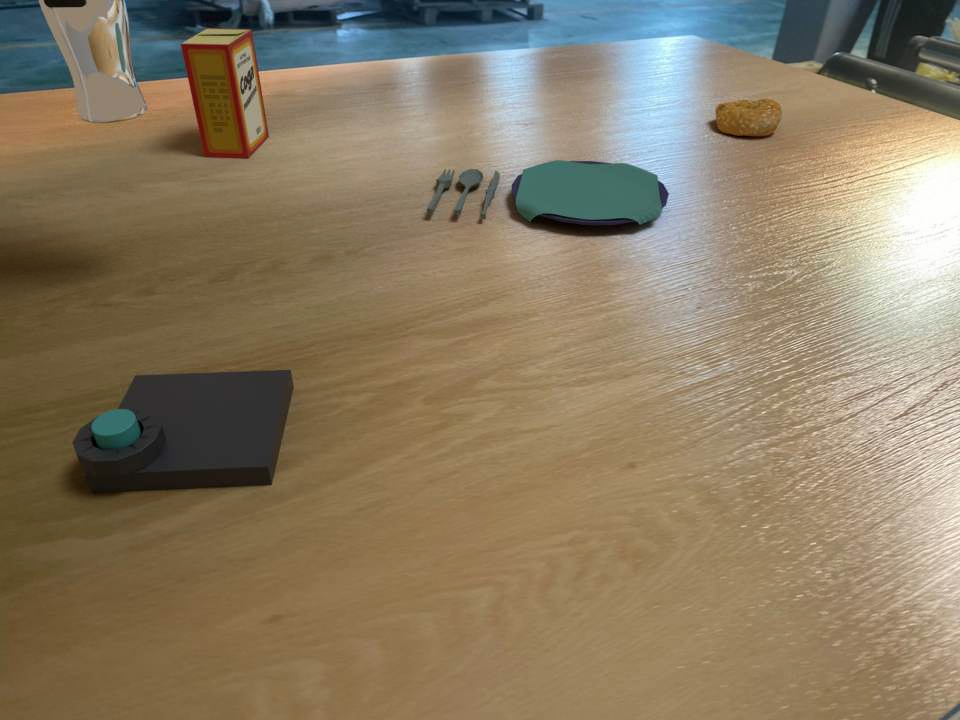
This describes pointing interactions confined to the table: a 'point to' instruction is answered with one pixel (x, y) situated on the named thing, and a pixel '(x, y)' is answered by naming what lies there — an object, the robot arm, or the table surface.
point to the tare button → (115, 429)
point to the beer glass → (98, 59)
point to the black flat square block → (194, 432)
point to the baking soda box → (226, 92)
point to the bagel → (749, 117)
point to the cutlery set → (573, 192)
